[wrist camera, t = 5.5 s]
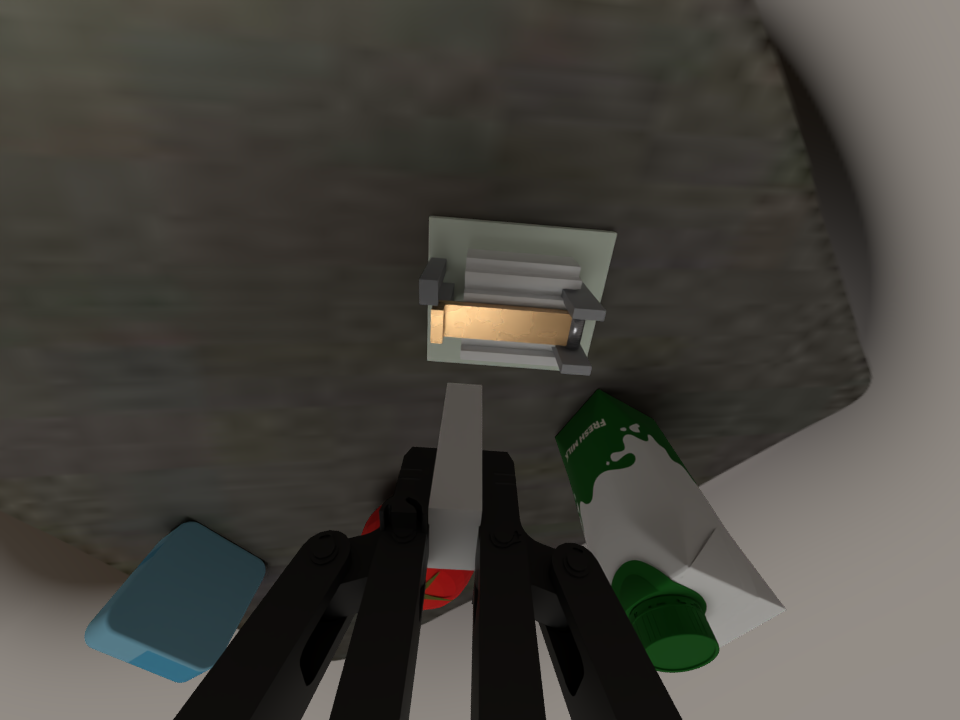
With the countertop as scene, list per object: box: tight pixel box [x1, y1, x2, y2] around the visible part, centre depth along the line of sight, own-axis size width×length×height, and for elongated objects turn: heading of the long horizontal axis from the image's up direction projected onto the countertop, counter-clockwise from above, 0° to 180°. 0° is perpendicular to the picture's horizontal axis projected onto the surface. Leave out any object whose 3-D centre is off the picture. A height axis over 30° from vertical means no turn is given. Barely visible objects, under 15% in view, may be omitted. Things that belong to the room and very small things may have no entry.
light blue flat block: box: [85, 522, 265, 683], centre depth 42 cm, size 12×4×12 cm, turn 39°
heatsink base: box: [419, 216, 617, 375], centre depth 28 cm, size 14×12×8 cm
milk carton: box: [555, 389, 786, 673], centre depth 29 cm, size 9×9×20 cm
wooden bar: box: [430, 300, 585, 350], centre depth 26 cm, size 11×3×2 cm, turn 85°
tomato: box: [362, 505, 474, 610], centre depth 39 cm, size 11×12×10 cm
